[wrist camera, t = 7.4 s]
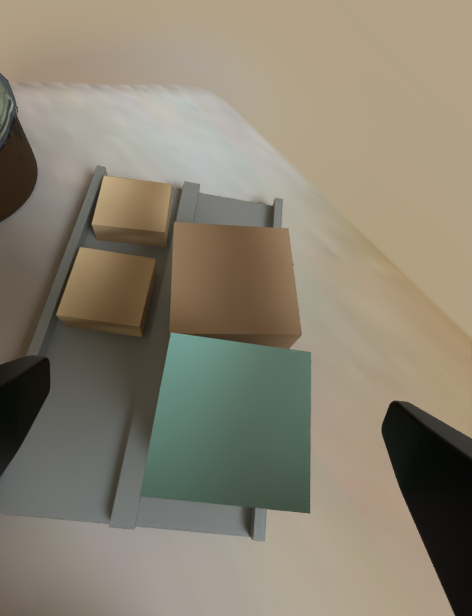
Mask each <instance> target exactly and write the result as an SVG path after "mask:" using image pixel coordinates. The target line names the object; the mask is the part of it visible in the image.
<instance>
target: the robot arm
mask: <svg viewBox="0 0 472 616" xmlns="http://www.w3.org/2000/svg"><path fill="white" fill-rule="evenodd" d="M50 385H51V384H50V361H49V359H48V358H47V357H45V356H37V355H29V356H26V357H23V358H20V359H16V360H13V361H10V362H7V363H4V364H1V365H0V477H1V476H2V474H3V473H4V471H5V470H6V468H7V467H8V465H9V464H10V462H11V461H12V459H13V458H14V456H15V455H16V453H17V452H18V450H19V449H20V447H21V445H22V443H23V442H24V440H25V438H26V436H27V434H28V432H29V430H30V429H31V427H32V425H33V423H34V421H35V419H36V417H37V415H38V413H39V412H40V410H41V408H42V406H43V404H44V402H45V400H46V398H47V396H48V394H49V391H50ZM382 436H383V439H384V442H385V445H386V448H387V451H388V454H389V457H390V460H391V464H392V467H393V470H394V473H395V476H396V479H397V482H398V485H399V487H400V490H401V492H402V495H403V497H404V499H405V502H406V504H407V506H408V509H409V511H410V513H411V516H412V518H413V520H414V522H415V525H416V527H417V529H418V532H419V534H420V536H421V539H422V541H423V543H424V545H425V548H426V550H427V552H428V555H429V557H430V559H431V562H432V564H433V566H434V568H435V571H436V573H437V575H438V578H439V580H440V582H441V585H442V587H443V589H444V592H445V594H446V596H447V598H448V601H449V603H450V605H451V608H452V610H453V612H454V615H455V616H472V439H471V438H470V437H468V436H466V435H465V434H463V433H461V432H459V431H458V430H456V429H454V428H452V427H451V426H449V425H447V424H445V423H444V422H442V421H440V420H439V419H437V418H435V417H433V416H432V415H430V414H428V413H426V412H425V411H423V410H421V409H419V408H418V407H416V406H414V405H413V404H411V403H409V402H404V401H392V402H391V403H390V405H389V408H388V410H387V413H386V415H385V418H384V421H383V423H382Z"/></svg>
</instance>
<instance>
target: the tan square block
mask: <svg viewBox="0 0 472 616" xmlns="http://www.w3.org/2000/svg"><path fill="white" fill-rule="evenodd" d="M156 276H157V267H156V259H153V258H146V257H140V256H134V255H128V254H121V253H115V252H109V251H103V250H96V249H90V248H84V247H80V248H79V251H78V254H77V257H76V260H75V263H74V265H73V268H72V271H71V274H70V277H69V280H68V282H67V285H66V288H65V291H64V294H63V296H62V299H61V302H60V305H59V308H58V311H57V313H56V316H57V317H58V318H59V319H60V320H61V322H62V323H63V324H64V325H65V326H67V327H74V328H81V329H88V330H95V331H102V332H110V333H117V334H124V335H131V336H138V337H143V333H144V329H145V325H146V320H147V316H148V311H149V307H150V303H151V298H152V294H153V290H154V285H155V281H156Z"/></svg>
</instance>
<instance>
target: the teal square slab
mask: <svg viewBox="0 0 472 616" xmlns="http://www.w3.org/2000/svg"><path fill="white" fill-rule="evenodd" d="M310 415H311V352H305V351H298V350H291V349H284V348H277V347H270V346H263V345H256V344H249V343H242V342H235V341H228V340H221V339H214V338H207V337H199V336H192V335H185V334H178V333H171V335H170V340H169V346H168V351H167V356H166V361H165V366H164V372H163V377H162V382H161V387H160V392H159V398H158V403H157V408H156V413H155V418H154V424H153V429H152V434H151V439H150V444H149V450H148V455H147V460H146V465H145V470H144V476H143V481H142V486H141V491H140V496H142V497H152V498H162V499H172V500H182V501H192V502H202V503H211V504H221V505H231V506H241V507H251V508H261V509H271V510H281V511H291V512H301V513H310Z"/></svg>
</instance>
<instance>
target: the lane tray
mask: <svg viewBox="0 0 472 616" xmlns="http://www.w3.org/2000/svg"><path fill="white" fill-rule="evenodd" d="M104 176H107V172H106V168H105V167H102V166H97V168H96V170H95V173H94V176H93V178H92V181H91V184H90V186H89V189H88V192H87V194H86V197H85V200H84V202H83V205H82V208H81V210H80V213H79V216H78V218H77V221H76V224H75V226H74V229H73V232H72V234H71V237H70V240H69V242H68V245H67V248H66V250H65V253H64V256H63V258H62V261H61V264H60V266H59V269H58V272H57V274H56V277H55V280H54V282H53V285H52V288H51V290H50V293H49V296H48V298H47V301H46V304H45V306H44V309H43V312H42V314H41V317H40V320H39V322H38V325H37V328H36V330H35V333H34V336H33V338H32V341H31V344H30V346H29V349H28V352H27V354H26V356H29V355H37V356H45V357H47V358H48V359H49V361H50V384H51V385H50V391H49V394H48V396H47V398H46V400H45V402H44V404H43V406H42V408H41V410H40V412H39V413H38V415H37V417H36V419H35V421H34V423H33V425H32V427H31V429H30V430H29V432H28V434H27V436H26V438H25V440H24V442H23V443H22V445H21V447H20V449H19V450H18V452H17V453H16V455H15V456H14V458H13V459H12V461H11V462H10V464H9V465H8V467H7V468H6V470H5V471H4V473H3V474H2V476H1V477H0V514H8V515H18V516H29V517H40V518H51V519H62V520H72V521H83V522H94V523H105V524H109V527H112V528H123V529H134V528H135V527H136V526H137V527H148V528H159V529H170V530H180V531H191V532H202V533H213V534H224V535H234V536H245V537H251V539H252V540H254V541H265V530H266V511H267V509H261V508H251V507H241V506H231V505H221V504H211V503H202V502H192V501H182V500H172V499H162V498H152V497H142V496H140V491H141V486H142V481H143V476H144V470H145V465H146V460H147V455H148V450H149V444H150V439H151V434H152V429H153V424H154V418H155V413H156V408H157V403H158V398H159V392H160V387H161V382H162V377H163V372H164V366H165V361H166V356H167V351H168V346H169V340H170V336H169V327H170V303H171V279H172V256H173V232H174V222H182V223H200V224H217V225H235V226H252V227H270V228H281V223H282V203H283V199H279V198H275V200H274V203H273V206H269V205H264V204H258V203H253V202H247V201H241V200H236V199H230V198H224V197H219V196H213V195H208V194H202V193H199V190H200V184H196V183H191V182H185V181H184V185H183V190H180V189H174V188H172V208H171V215H170V222H169V229H168V237H167V244H166V247H157V246H148V245H138V244H129V243H119V242H109V241H100V240H97V237H96V235H95V232H94V229H93V227H92V221H93V217H94V213H95V209H96V205H97V201H98V197H99V193H100V189H101V185H102V181H103V178H104ZM80 247H84V248H90V249H96V250H103V251H109V252H115V253H121V254H128V255H134V256H140V257H146V258H153V259H156V267H157V276H156V281H155V285H154V290H153V294H152V298H151V303H150V307H149V311H148V316H147V320H146V325H145V329H144V333H143V337H138V336H131V335H124V334H117V333H110V332H102V331H95V330H88V329H81V328H74V327H67V326H65V325H64V324H63V323H62V322H61V320H60V319H59V318H58V317H57V316H56V313H57V311H58V308H59V305H60V302H61V299H62V296H63V294H64V291H65V288H66V285H67V282H68V280H69V277H70V274H71V271H72V268H73V265H74V263H75V260H76V257H77V254H78V251H79V248H80Z"/></svg>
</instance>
